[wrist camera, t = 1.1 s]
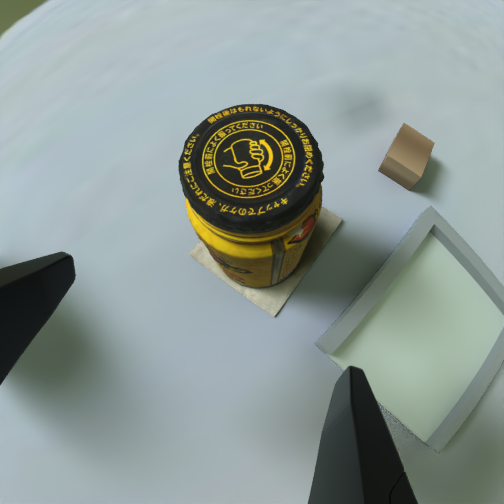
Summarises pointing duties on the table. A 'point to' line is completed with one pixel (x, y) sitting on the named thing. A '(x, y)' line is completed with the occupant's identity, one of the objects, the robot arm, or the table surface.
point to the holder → (425, 331)
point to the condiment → (256, 200)
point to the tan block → (407, 157)
